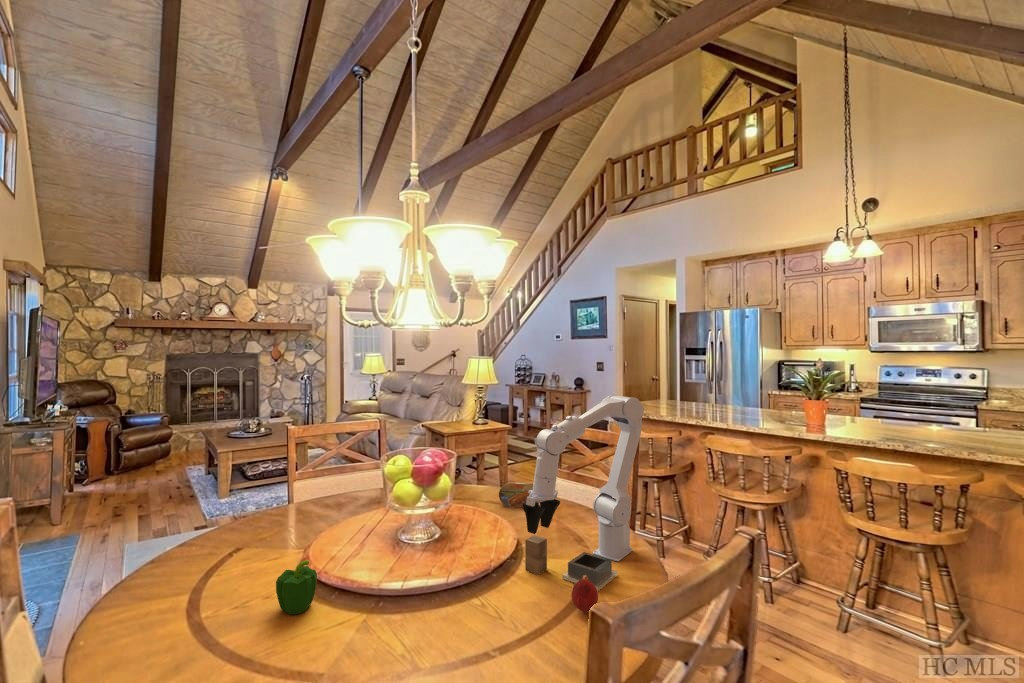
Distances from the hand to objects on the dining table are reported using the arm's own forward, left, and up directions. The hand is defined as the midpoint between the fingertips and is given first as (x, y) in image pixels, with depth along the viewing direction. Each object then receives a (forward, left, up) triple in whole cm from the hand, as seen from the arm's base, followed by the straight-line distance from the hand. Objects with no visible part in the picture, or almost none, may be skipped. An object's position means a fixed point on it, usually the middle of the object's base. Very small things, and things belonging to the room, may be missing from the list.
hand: (538, 529), depth 128 cm
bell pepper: (+48, -32, -11) cm, 58 cm away
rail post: (0, -1, -11) cm, 11 cm away
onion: (+10, +19, -11) cm, 24 cm away
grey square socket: (-5, +12, -11) cm, 17 cm away
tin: (-37, -34, -11) cm, 52 cm away
